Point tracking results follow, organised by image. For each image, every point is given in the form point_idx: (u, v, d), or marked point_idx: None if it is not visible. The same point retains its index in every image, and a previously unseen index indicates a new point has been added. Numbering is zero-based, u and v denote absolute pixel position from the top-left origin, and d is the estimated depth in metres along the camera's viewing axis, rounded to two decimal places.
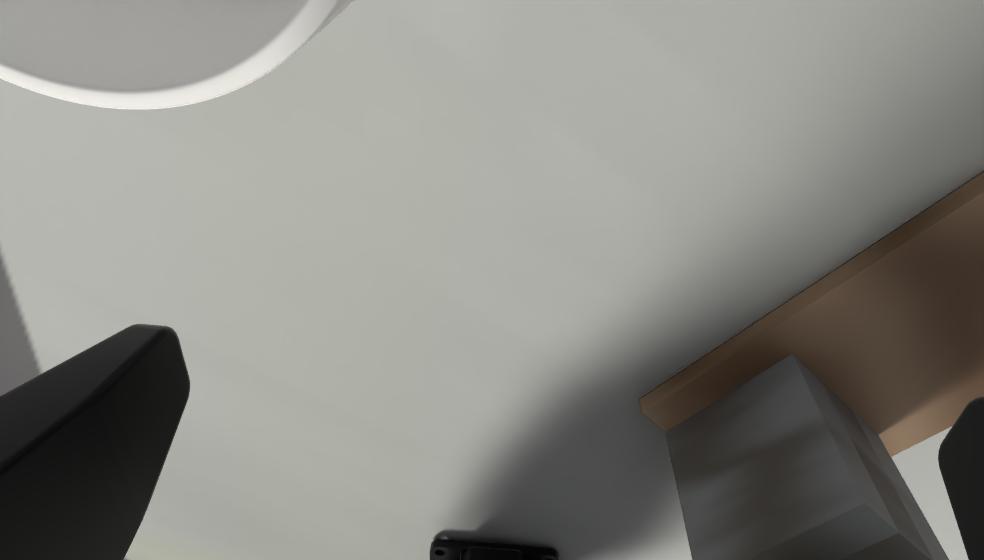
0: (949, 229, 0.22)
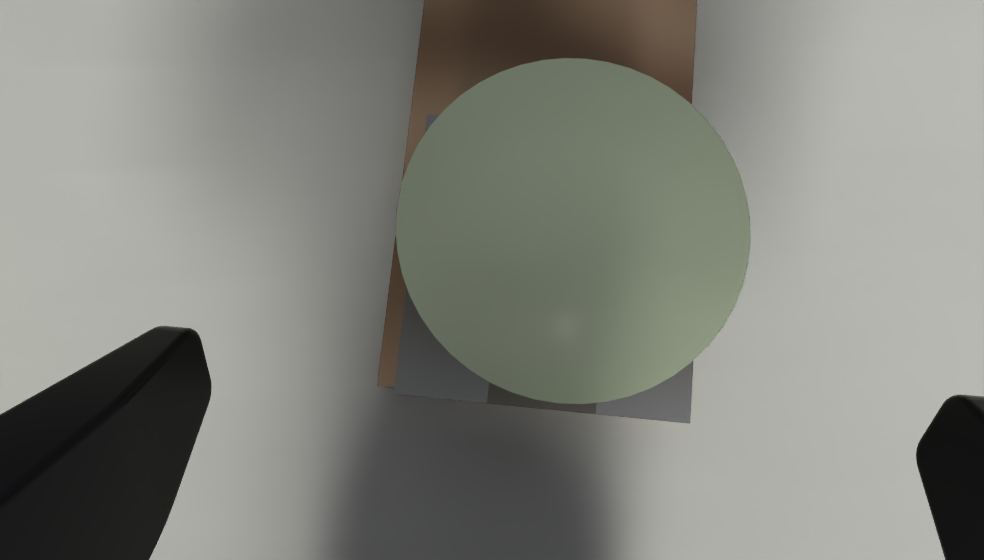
0: (439, 6, 0.22)
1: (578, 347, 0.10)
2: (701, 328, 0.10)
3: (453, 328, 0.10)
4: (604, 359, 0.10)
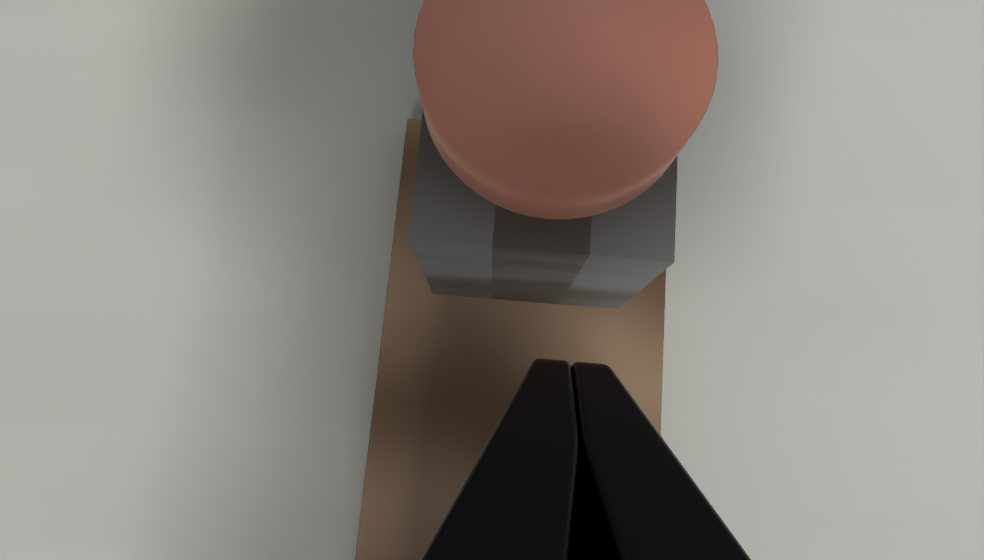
0: (394, 368, 0.21)
1: None
2: None
3: None
4: None
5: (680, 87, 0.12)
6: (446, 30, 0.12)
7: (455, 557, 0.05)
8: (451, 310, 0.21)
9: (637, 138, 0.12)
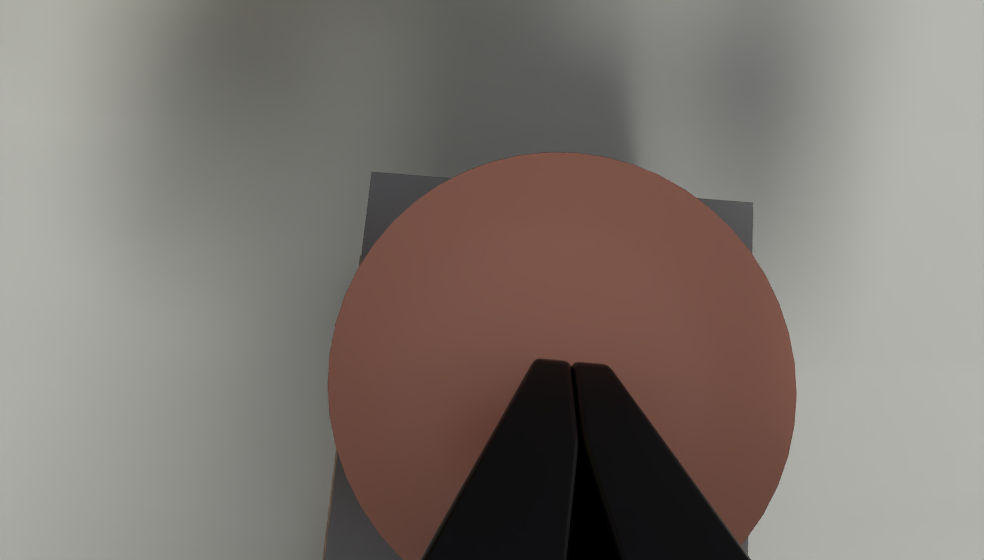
0: None
1: None
2: None
3: None
4: None
5: (738, 441, 0.08)
6: (379, 344, 0.08)
7: (455, 557, 0.05)
8: None
9: None
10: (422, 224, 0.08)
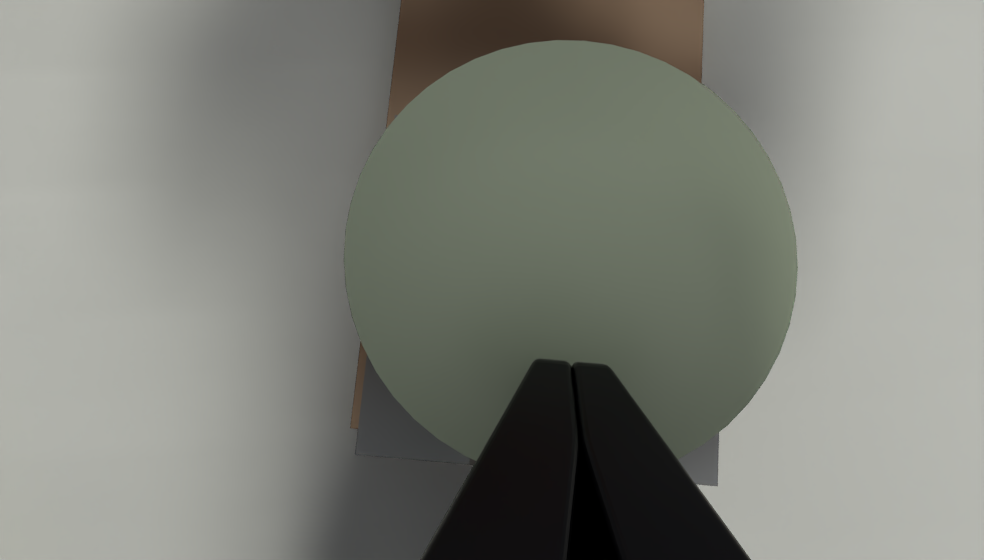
0: (418, 1, 0.20)
1: None
2: (738, 381, 0.08)
3: (418, 386, 0.08)
4: None
5: None
6: None
7: (455, 557, 0.05)
8: None
9: None
10: None
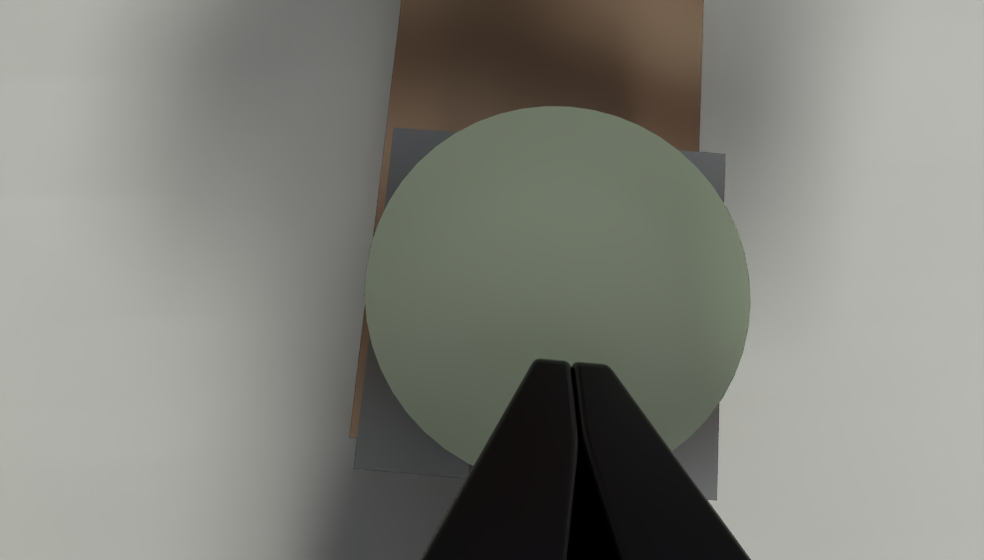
0: (418, 9, 0.20)
1: None
2: (699, 400, 0.09)
3: (428, 404, 0.09)
4: None
5: None
6: None
7: (455, 557, 0.05)
8: None
9: None
10: None
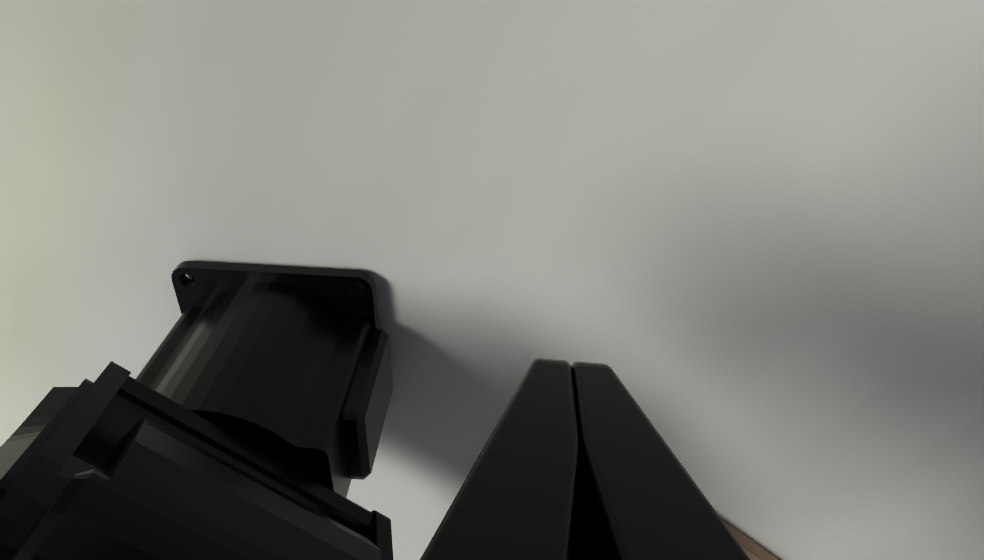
0: None
1: None
2: None
3: None
4: None
5: None
6: None
7: (455, 557, 0.05)
8: None
9: None
10: None
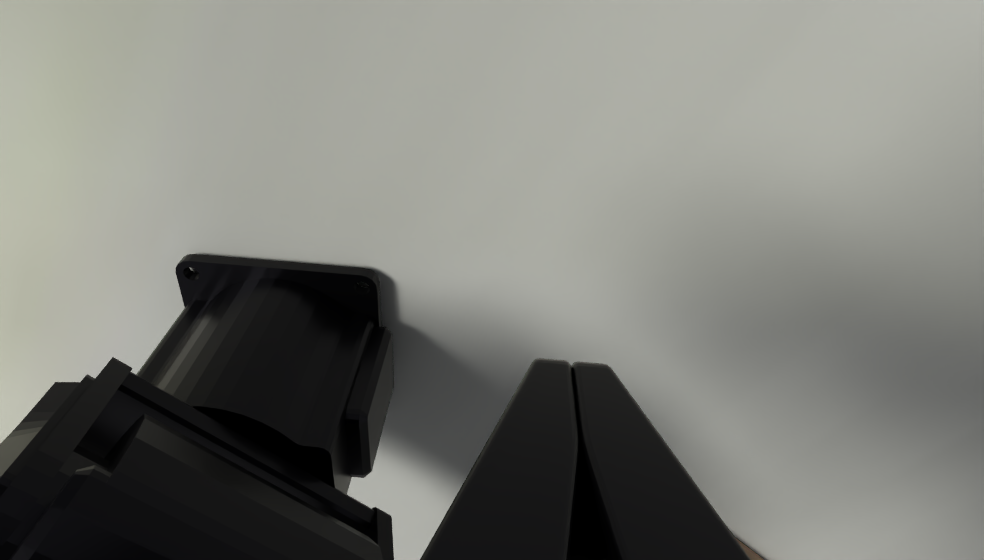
0: None
1: None
2: None
3: None
4: None
5: None
6: None
7: (455, 557, 0.05)
8: None
9: None
10: None
